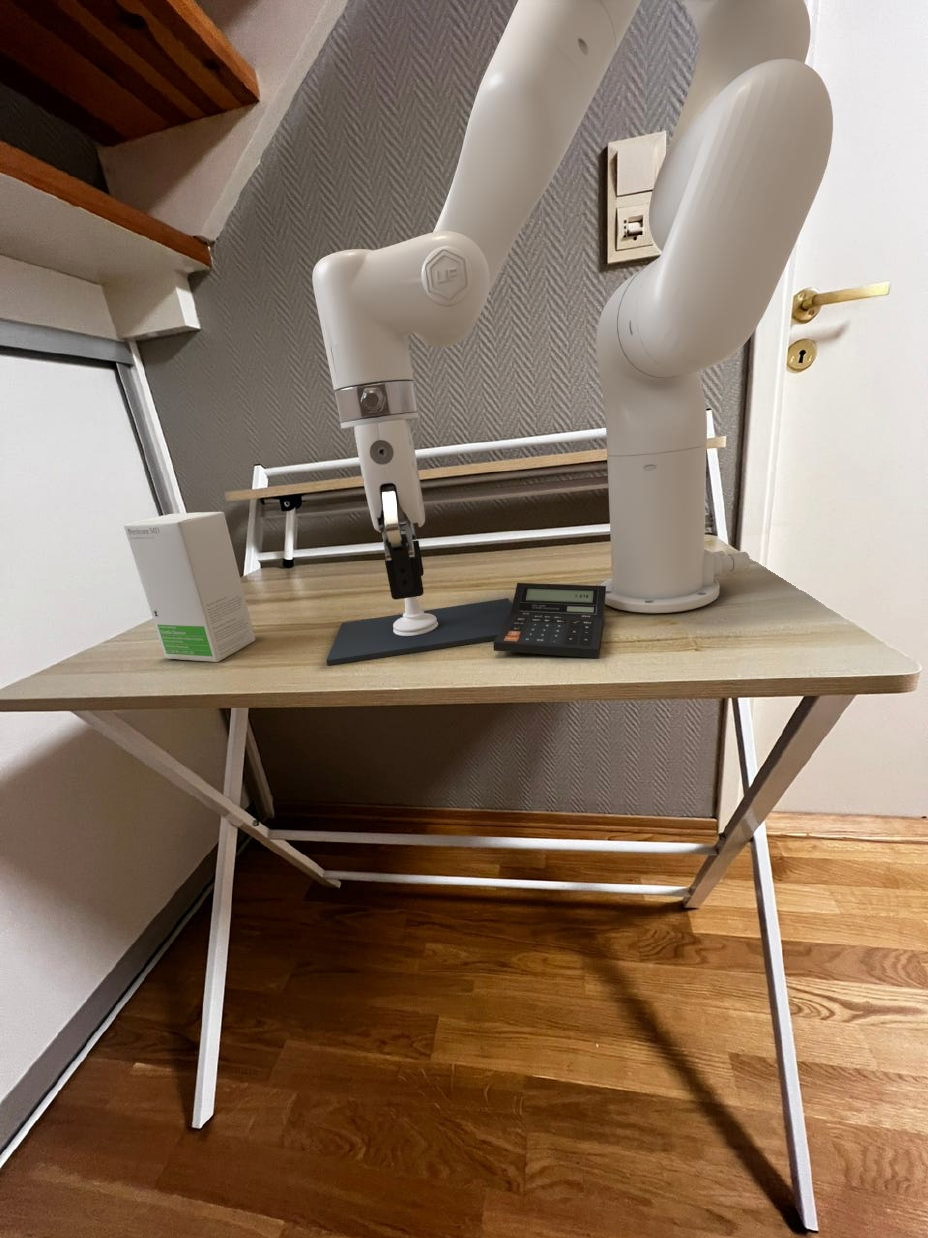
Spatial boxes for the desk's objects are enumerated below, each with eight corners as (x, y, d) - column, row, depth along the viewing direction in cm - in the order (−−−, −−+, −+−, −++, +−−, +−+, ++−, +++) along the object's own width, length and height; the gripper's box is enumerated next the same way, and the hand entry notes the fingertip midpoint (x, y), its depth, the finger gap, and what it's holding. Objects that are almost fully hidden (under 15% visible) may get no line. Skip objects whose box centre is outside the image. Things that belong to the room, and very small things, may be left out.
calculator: (493, 650, 50) (492, 620, 48) (518, 607, 60) (518, 581, 59) (597, 658, 47) (598, 626, 46) (605, 611, 57) (606, 584, 56)
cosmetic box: (164, 660, 61) (116, 525, 56) (208, 637, 67) (168, 513, 62) (220, 662, 58) (175, 520, 53) (261, 638, 64) (224, 507, 59)
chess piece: (431, 635, 56) (416, 541, 52) (387, 637, 57) (369, 545, 54) (442, 618, 60) (429, 530, 57) (401, 620, 61) (385, 534, 58)
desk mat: (508, 602, 64) (508, 597, 64) (524, 635, 54) (524, 630, 54) (343, 627, 64) (342, 622, 64) (327, 665, 53) (325, 660, 53)
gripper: (415, 397, 43) (447, 606, 49) (418, 406, 59) (441, 562, 65) (322, 410, 43) (365, 619, 49) (350, 415, 59) (380, 571, 65)
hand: (409, 585), depth 57 cm, fingers open, 6 cm apart
